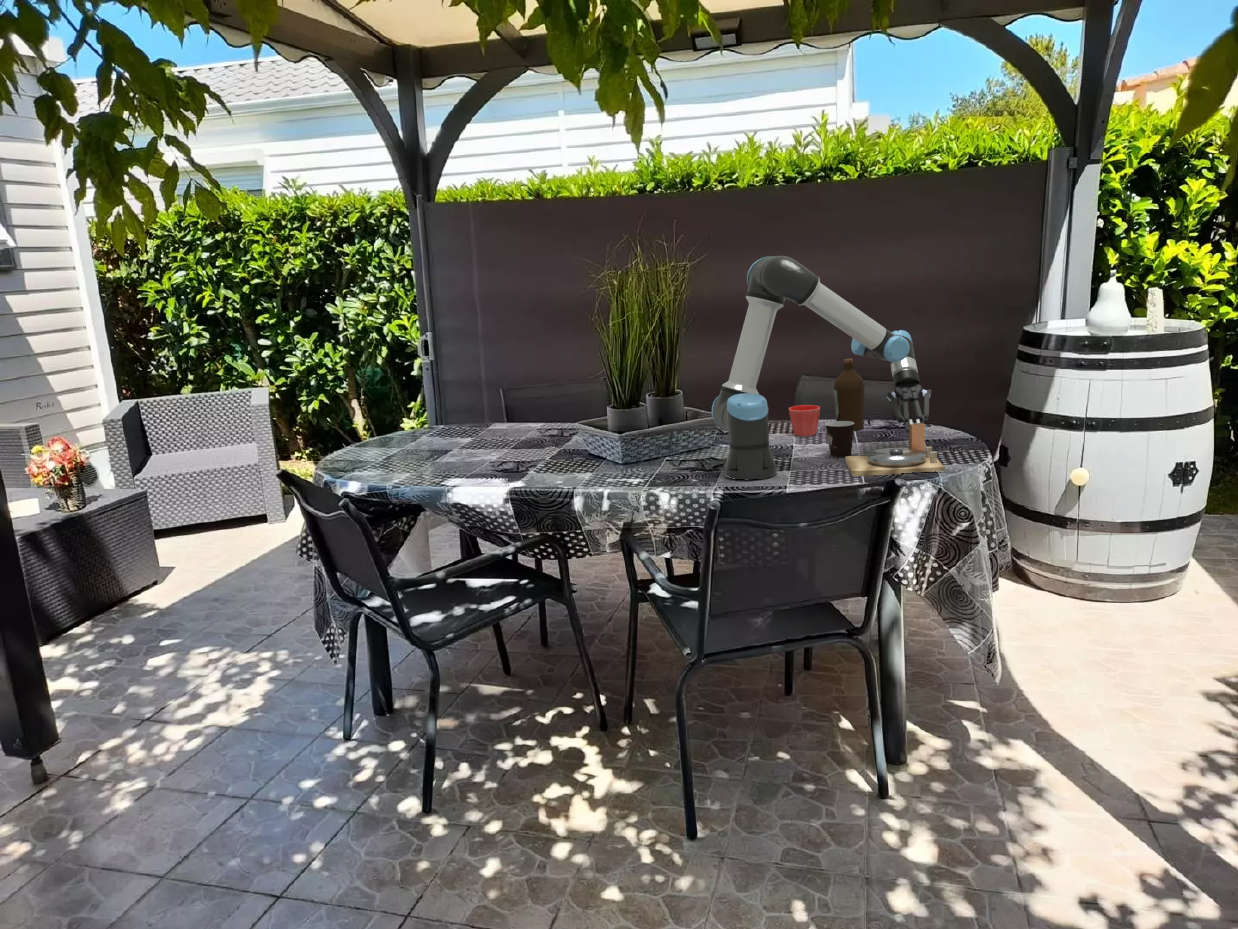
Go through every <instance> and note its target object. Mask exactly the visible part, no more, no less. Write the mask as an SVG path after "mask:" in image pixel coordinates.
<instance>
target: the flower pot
mask: <svg viewBox="0 0 1238 929" xmlns="http://www.w3.org/2000/svg"><path fill="white" fill-rule="evenodd" d="M788 412H789V418H790V423H791V427H792V431H793V434H795V435H794V436H796V435H798V436H797V437H803V436H804V437H812V435H813V436H816V435H817V433H818V426H819V420H820V415H821V406H819V405H815V404H814V405H811V404H801V405H794V406H791V407H790V406H789V407H788ZM815 434H816V435H815Z"/></svg>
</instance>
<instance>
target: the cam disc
mask: <svg viewBox="0 0 1238 929" xmlns="http://www.w3.org/2000/svg"><path fill="white" fill-rule="evenodd" d="M867 455H868V462H869V463H870V464H873V465H877V466H885V467H905V466H913V465H918V464H921V463H924V462H925V460H926V444H925V423H924V422H923V423H916V422H915V423H913V424H909V432H908V447H884V448H879V449H875V450H874V449H873V450H871V451H869V452H868V453H867Z"/></svg>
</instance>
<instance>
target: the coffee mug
mask: <svg viewBox="0 0 1238 929" xmlns="http://www.w3.org/2000/svg"><path fill="white" fill-rule="evenodd" d="M825 429H826V434H827V442H828V448H829V455H830V457H832V458H845V456H852V453H853V451H852V450H853V439H854V432H855V431H854V422H850V421H836V420H835V421H830V422H827V423H825Z"/></svg>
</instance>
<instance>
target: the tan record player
mask: <svg viewBox="0 0 1238 929" xmlns="http://www.w3.org/2000/svg"><path fill="white" fill-rule="evenodd" d="M925 453H926V460H925V462H924V463H921V464H918V465H913V466H905V467H885V466H877V465H873V464H870V463H869V462H868V454H867V455H851V456H845V457H844V458H845V464H846V466H847V467H848V470H849V472H850V475H851V476H852V477H866V476H867V477H870V476H891V474H895V475H902V474H901V473H912V472H935V471H936V472H937V471H945V470H946V468H945V466H944V465H943V463H941V461H940V460H939V459H938V451H933V446H925Z"/></svg>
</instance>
